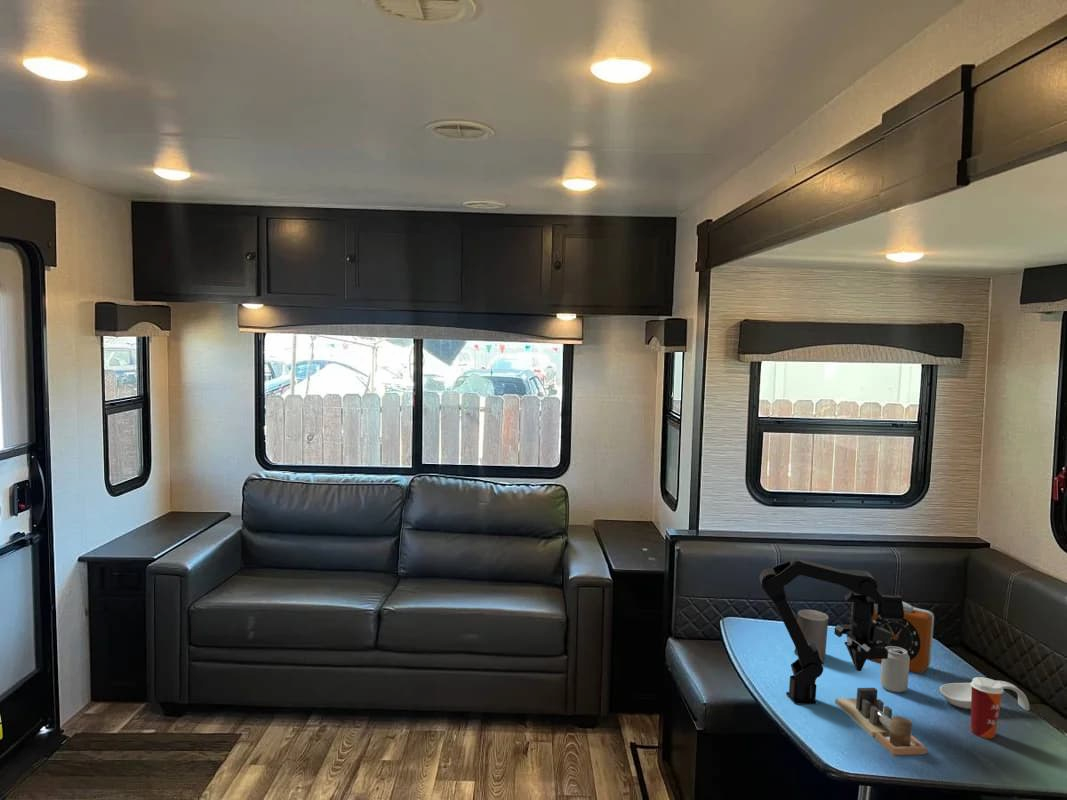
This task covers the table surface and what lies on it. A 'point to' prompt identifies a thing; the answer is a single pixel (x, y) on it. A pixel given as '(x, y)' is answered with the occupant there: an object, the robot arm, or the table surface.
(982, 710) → the paper cup
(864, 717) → the beige piece
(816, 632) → the pillar candle
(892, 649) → the can
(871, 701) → the shaft
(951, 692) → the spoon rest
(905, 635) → the alarm clock
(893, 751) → the picture frame
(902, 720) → the brown dome-ended cylinder
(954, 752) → the table surface
